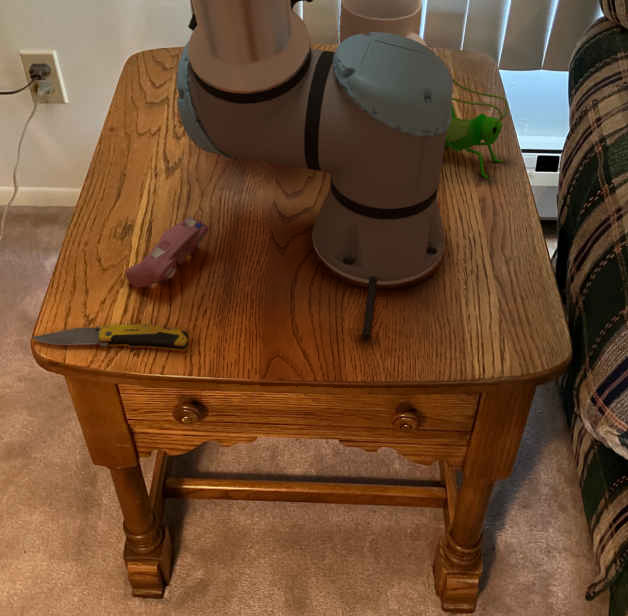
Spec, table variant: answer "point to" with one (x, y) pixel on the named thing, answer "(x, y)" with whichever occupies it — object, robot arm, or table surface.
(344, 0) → the mug
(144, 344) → the utility knife
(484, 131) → the toy
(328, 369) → the table surface
